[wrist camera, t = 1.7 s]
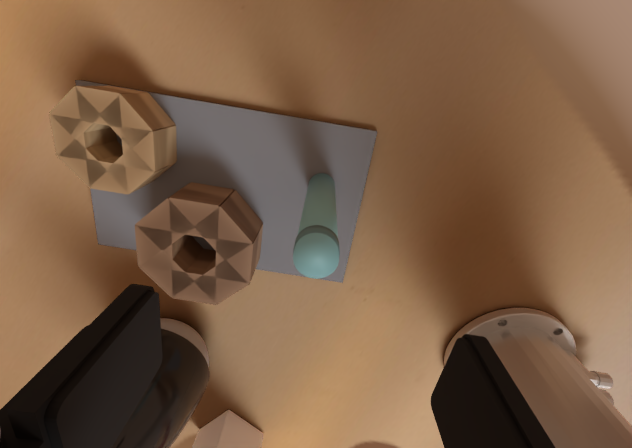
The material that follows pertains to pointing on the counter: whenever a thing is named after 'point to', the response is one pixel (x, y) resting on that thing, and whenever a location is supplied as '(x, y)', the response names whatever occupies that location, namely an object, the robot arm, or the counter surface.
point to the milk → (228, 433)
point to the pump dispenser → (169, 390)
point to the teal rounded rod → (318, 230)
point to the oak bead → (113, 137)
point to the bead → (188, 255)
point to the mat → (249, 174)
